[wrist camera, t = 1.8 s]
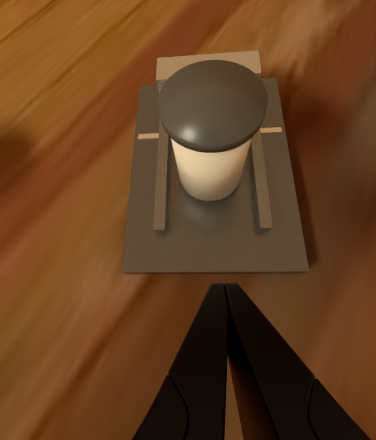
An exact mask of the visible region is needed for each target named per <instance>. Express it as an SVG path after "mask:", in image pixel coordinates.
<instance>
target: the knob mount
mask: <svg viewBox="0 0 376 440" xmlns="http://www.w3.org/2000/svg"><path fill="white" fill-rule="evenodd" d="M205 60H226V61H231V62H235V63H238V64H240V65H243V66H245V67H247V68H248V69H250V70H251V71H253V72H254V73H255V74H256V75H257V76H258V77H259V78H260V77H261V66H260V59H259V52H258V51H246V52H232V53H219V54H205V55H191V56H178V57H164V58H157V73H156V82H157V85H147V86H140V91H139V101H138V112H137V122H136V132H135V142H134V152H133V163H132V173H131V183H130V193H129V203H128V214H127V224H126V234H125V244H124V255H123V265H122V273H125V274H267V273H305V272H309V267H308V261H307V255H306V249H305V243H304V237H303V231H302V225H301V220H300V214H299V208H298V202H297V196H296V190H295V184H294V178H293V173H292V167H291V161H290V155H289V149H288V143H287V137H286V131H285V126H284V120H283V114H282V108H281V102H280V96H279V90H278V84H277V79H276V77H271V78H260V79H261V80H262V82H263V83H264V85H265V88H266V90H267V94H268V107H267V110H266V114H265V117H264V120H263V123H262V125H261V127H260V129H259V130H258V132H257V133H256V134H255V135H254V136H253V137H252V139H251V142H250V146H249V149H248V153H247V156H246V160H245V164H244V167H243V171H242V174H241V178H240V181H239V184H238V186H237V187H236V189H235V190H234V191H233V192H232V193H231V194H230V195H228V196H227V197H225V198H223V199H220V200H216V201H204V200H200V199H197V198H194V197H193V196H191V195H190V194H188V193H187V192H186V191H185V189H184V188H183V186H182V184H181V182H180V177H179V173H178V168H177V163H176V159H175V154H174V150H173V145H172V140H171V138H170V137H169V135H168V134H167V133H166V131H165V130H164V128H163V125H162V123H161V119H160V115H159V111H158V97H159V94H160V91H161V89H162V87H163V85H164V84H165V82H166V81H167V80H168V79H169V77H171V76H172V75H173V74H174V73H175V72H177V71H178V70H180V69H181V68H183V67H185V66H187V65H190V64H193V63H196V62H200V61H205Z"/></svg>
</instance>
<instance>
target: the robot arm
mask: <svg viewBox="0 0 376 440" xmlns="http://www.w3.org/2000/svg"><path fill="white" fill-rule="evenodd" d="M227 356H228V359H229V365H230V370H231V375H232V381H233V386H234V391H235V396H236V401H237V407H238V412H239V417H240V422H241V428H242V433H243V438H244V440H371V439H370V438H369V437H368V436H367V435H366V434H365V433H364V432H363V430H362V429H361V428H360V427H359V426H358V425H357V424H356V423H355V422H354V421H353V420H352V419H351V418H350V416H349V415H348V414H347V413H346V412H345V411H344V410H343V408H342V407H341V406H340V405H339V404H338V403H337V401H336V400H335V399H334V398H333V397H332V396H331V395H330V393H329V392H328V391H327V390H326V389H325V387H324V386H323V385H322V384H321V383H320V381H319V380H318V379H317V378H315V379H314V377H315V376H314V374H313V373H312V372H311V371H310V370H309V368H308V367H307V366H306V365H305V364H304V362H303V361H302V360H301V359H300V358H299V356H298V355H297V354H296V353H295V352H294V350H293V349H292V348H291V347H290V346H289V344H288V343H287V342H286V341H285V340H284V338H283V337H282V336H281V335H280V334H279V333H278V331H277V330H276V329H275V328H274V327H273V325H272V324H271V323H270V322H269V321H268V319H267V318H266V317H265V316H264V315H263V313H262V312H261V311H260V310H259V309H258V307H257V306H256V305H255V304H254V303H253V301H252V300H251V299H250V298H249V297H248V295H247V294H246V293H245V292H244V291H243V289H242V288H241V287H240V286H239V285H238V284H237V283H225V285H224V284H223V283H212V284H211V285H210V287H209V289H208V291H207V293H206V295H205V298H204V300H203V302H202V304H201V306H200V308H199V310H198V312H197V314H196V316H195V318H194V320H193V322H192V324H191V326H190V328H189V331H188V333H187V335H186V337H185V339H184V341H183V343H182V345H181V347H180V349H179V351H178V353H177V355H176V357H175V359H174V361H173V364H172V366H171V368H170V370H169V372H168V373H169V374H168V375H167V376H166V378H165V380H164V382H163V384H162V386H161V388H160V390H159V392H158V394H157V396H156V398H155V399H154V401H153V403H152V405H151V407H150V409H149V411H148V413H147V415H146V416H145V418H144V420H143V421H142V423H141V425H140V426H139V428H138V430H137V431H136V433H135V435H134V437H133V438H132V440H224V435H225V409H226V382H227Z"/></svg>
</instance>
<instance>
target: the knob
mask: <svg viewBox="0 0 376 440" xmlns="http://www.w3.org/2000/svg"><path fill="white" fill-rule="evenodd" d="M267 107H268V94H267V90H266V88H265V85H264V83H263V82H262V80H261V79H260V78H259V77H258V76H257V75H256V74H255V73H254V72H253V71H251V70H250V69H248V68H247V67H245V66H243V65H240V64H238V63H235V62H231V61H226V60H205V61H200V62H196V63H193V64H190V65H187V66H185V67H183V68H181V69H180V70H178V71H177V72H175V73H174V74H173V75H172V76H171V77H169V79H168V80H167V81H166V82H165V84H164V85H163V87H162V89H161V91H160V94H159V97H158V111H159V115H160V119H161V123H162V125H163V128H164V130H165V131H166V133H167V134H168V135H169V137H170V138H171V140H172V145H173V150H174V154H175V159H176V163H177V168H178V173H179V177H180V182H181V184H182V186H183V188H184V189H185V191H186V192H187V193H188V194H190V195H191V196H193V197H194V198H197V199H200V200H204V201H216V200H220V199H223V198H225V197H227V196H228V195H230V194H231V193H232V192H233V191H234V190H235V189H236V187H237V186H238V184H239V181H240V178H241V174H242V171H243V167H244V164H245V160H246V156H247V153H248V149H249V146H250V142H251V139H252V137H253V136H254V135H255V134H256V133H257V132H258V130H259V129H260V127H261V125H262V123H263V120H264V117H265V114H266V110H267Z"/></svg>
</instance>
